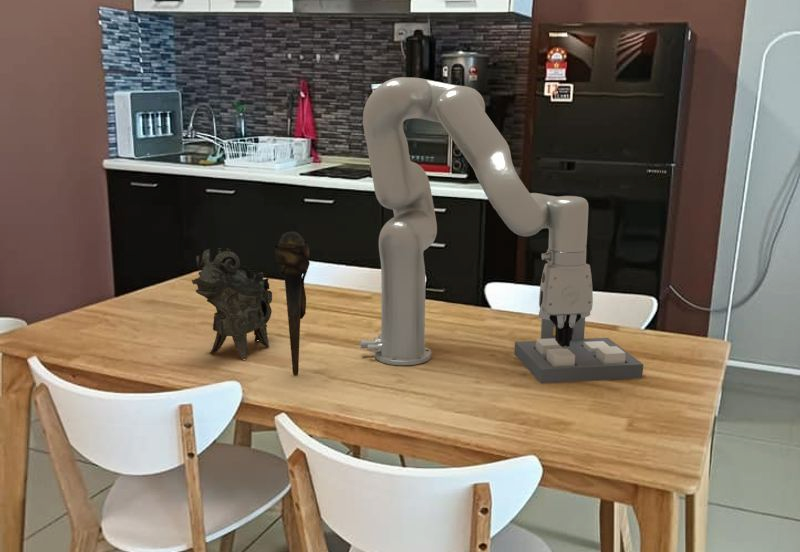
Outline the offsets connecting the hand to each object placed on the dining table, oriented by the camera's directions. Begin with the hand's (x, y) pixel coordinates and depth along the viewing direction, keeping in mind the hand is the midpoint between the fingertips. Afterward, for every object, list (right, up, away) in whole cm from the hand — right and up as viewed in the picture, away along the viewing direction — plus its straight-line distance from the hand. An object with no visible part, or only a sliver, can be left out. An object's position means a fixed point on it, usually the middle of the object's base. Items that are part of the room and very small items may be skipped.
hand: (563, 344), depth 172 cm
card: (+3, 0, +15) cm, 15 cm away
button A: (0, -4, +1) cm, 4 cm away
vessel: (-70, -3, +15) cm, 72 cm away
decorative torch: (-56, -6, 0) cm, 56 cm away
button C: (-2, -2, +8) cm, 8 cm away
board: (+4, -5, +7) cm, 10 cm away
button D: (+9, -3, +10) cm, 14 cm away
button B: (+10, -4, +3) cm, 11 cm away
